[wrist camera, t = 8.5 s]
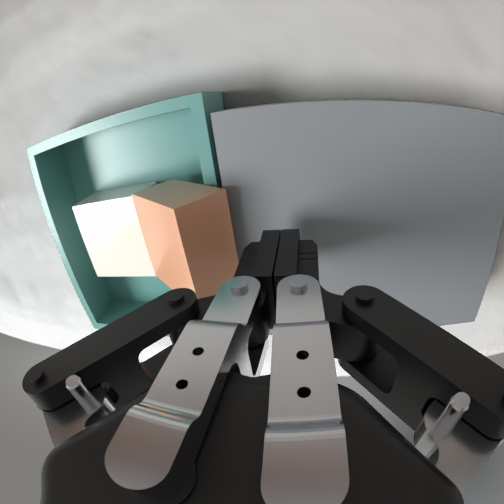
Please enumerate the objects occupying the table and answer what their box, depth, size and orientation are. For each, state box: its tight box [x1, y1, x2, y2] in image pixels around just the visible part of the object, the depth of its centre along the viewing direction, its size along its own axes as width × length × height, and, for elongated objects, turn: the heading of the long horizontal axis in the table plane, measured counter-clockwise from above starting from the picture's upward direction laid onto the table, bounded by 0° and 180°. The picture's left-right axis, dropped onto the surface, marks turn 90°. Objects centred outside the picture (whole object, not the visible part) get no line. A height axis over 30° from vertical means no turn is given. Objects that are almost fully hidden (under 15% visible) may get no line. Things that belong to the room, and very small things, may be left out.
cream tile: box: [72, 181, 157, 277], centre depth 18 cm, size 5×5×2 cm
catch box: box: [27, 92, 224, 336], centre depth 18 cm, size 12×14×4 cm
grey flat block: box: [210, 99, 504, 335], centre depth 15 cm, size 14×12×4 cm
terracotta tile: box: [131, 179, 239, 299], centre depth 15 cm, size 5×5×2 cm
